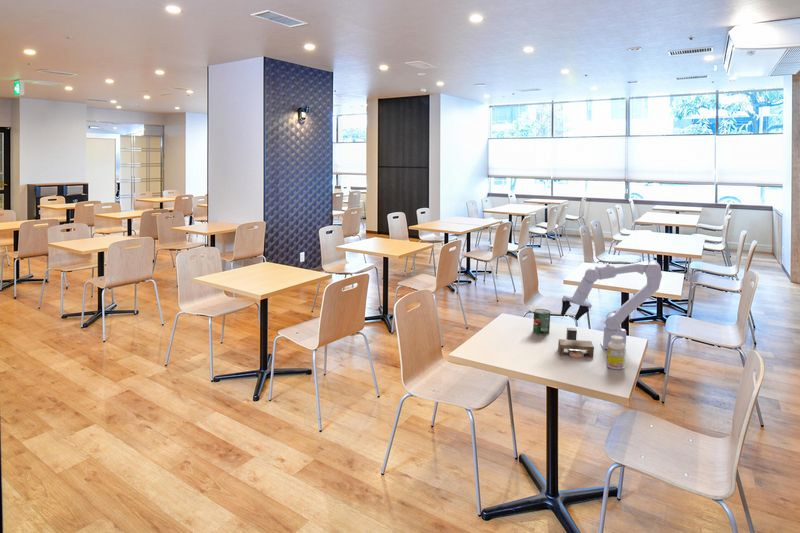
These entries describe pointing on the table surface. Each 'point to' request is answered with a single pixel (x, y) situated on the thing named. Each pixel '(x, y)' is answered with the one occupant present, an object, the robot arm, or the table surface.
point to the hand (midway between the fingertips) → (569, 317)
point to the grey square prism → (571, 336)
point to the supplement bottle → (616, 353)
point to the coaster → (576, 354)
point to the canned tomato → (541, 321)
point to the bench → (575, 346)
